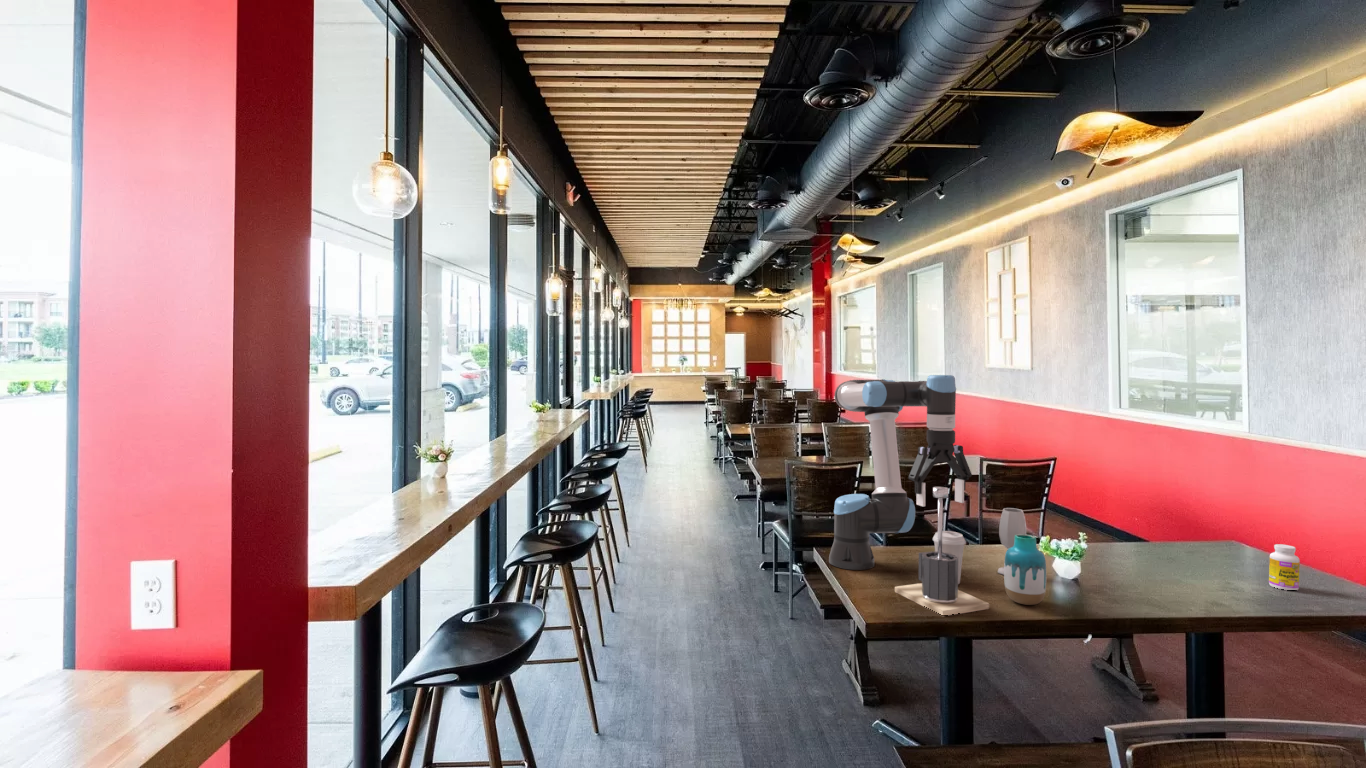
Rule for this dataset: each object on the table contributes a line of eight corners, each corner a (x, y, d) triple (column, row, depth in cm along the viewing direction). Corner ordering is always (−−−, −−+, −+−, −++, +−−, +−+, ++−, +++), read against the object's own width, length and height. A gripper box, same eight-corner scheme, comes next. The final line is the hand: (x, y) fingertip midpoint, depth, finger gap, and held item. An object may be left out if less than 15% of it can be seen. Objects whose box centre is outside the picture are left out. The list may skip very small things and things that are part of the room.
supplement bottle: (1275, 590, 190) (1276, 547, 189) (1264, 583, 196) (1265, 542, 196) (1304, 592, 187) (1305, 550, 187) (1291, 585, 194) (1292, 544, 193)
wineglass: (1021, 580, 199) (1021, 514, 199) (992, 573, 206) (993, 509, 205) (1031, 574, 205) (1032, 510, 204) (1003, 567, 211) (1004, 505, 211)
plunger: (924, 558, 181) (924, 486, 180) (940, 556, 183) (941, 485, 182) (938, 564, 175) (939, 490, 175) (956, 562, 177) (956, 489, 177)
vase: (1028, 612, 172) (1029, 543, 172) (995, 599, 182) (996, 533, 182) (1054, 606, 177) (1055, 538, 176) (1021, 594, 186) (1021, 530, 186)
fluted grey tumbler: (908, 591, 185) (908, 550, 185) (933, 587, 188) (934, 547, 188) (938, 605, 173) (938, 562, 173) (964, 601, 176) (964, 559, 176)
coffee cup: (968, 587, 192) (968, 538, 192) (935, 585, 194) (935, 537, 194) (961, 577, 202) (961, 531, 201) (929, 575, 203) (930, 529, 203)
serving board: (894, 591, 189) (894, 586, 189) (937, 585, 194) (937, 580, 194) (942, 616, 170) (942, 610, 170) (989, 608, 175) (989, 603, 175)
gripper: (913, 431, 171) (913, 509, 171) (985, 428, 179) (985, 503, 179) (895, 429, 178) (895, 504, 178) (965, 426, 186) (965, 498, 186)
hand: (940, 503), depth 179 cm, fingers open, 13 cm apart
